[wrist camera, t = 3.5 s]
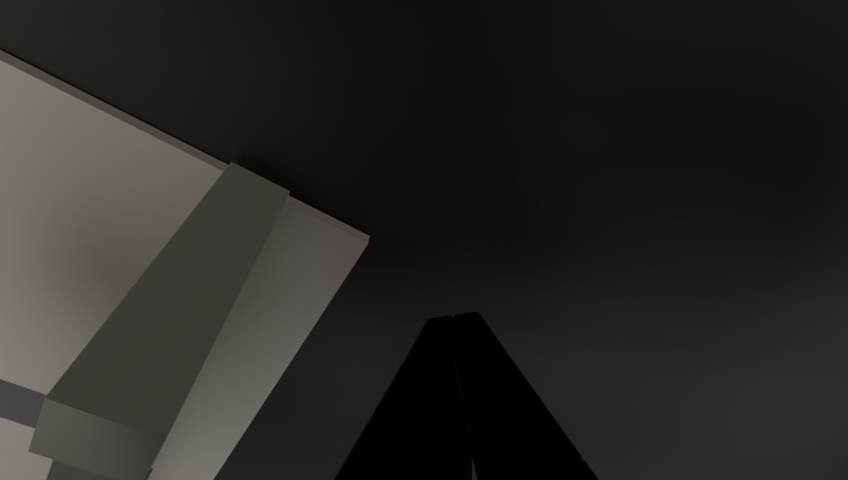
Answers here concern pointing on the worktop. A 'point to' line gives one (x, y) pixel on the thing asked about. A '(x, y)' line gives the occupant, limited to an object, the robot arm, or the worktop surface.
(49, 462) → the card
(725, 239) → the worktop surface
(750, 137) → the worktop surface
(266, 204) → the fence panel
